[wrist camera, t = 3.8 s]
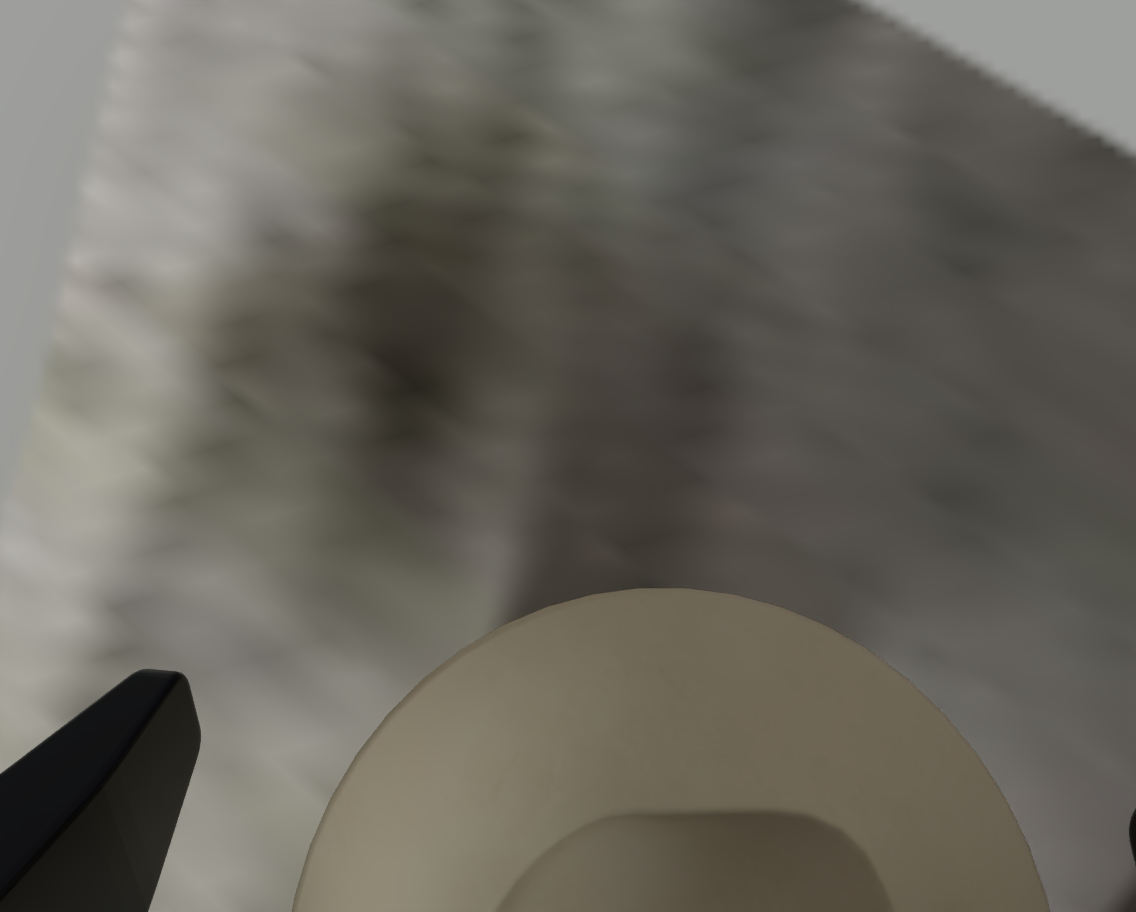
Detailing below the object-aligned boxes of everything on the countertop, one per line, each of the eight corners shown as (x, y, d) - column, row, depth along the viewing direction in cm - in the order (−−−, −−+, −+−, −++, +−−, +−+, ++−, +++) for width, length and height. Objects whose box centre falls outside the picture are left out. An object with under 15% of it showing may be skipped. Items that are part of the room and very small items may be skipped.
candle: (603, 544, 16) (637, 394, 6) (866, 773, 15) (1398, 1028, 5) (377, 806, 15) (-9, 1122, 5) (641, 1059, 14) (767, 1977, 5)
